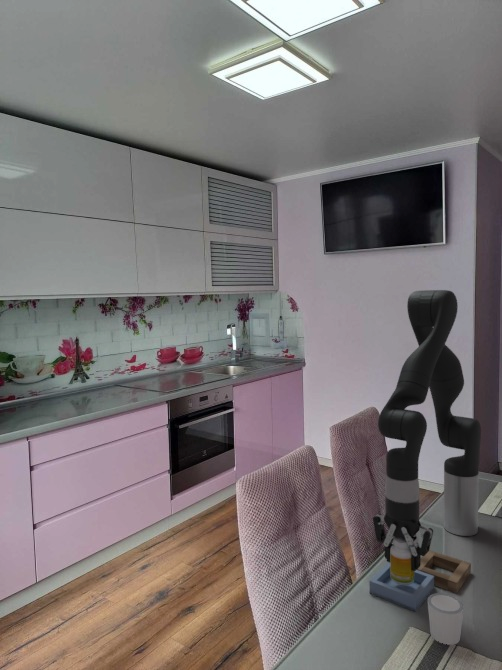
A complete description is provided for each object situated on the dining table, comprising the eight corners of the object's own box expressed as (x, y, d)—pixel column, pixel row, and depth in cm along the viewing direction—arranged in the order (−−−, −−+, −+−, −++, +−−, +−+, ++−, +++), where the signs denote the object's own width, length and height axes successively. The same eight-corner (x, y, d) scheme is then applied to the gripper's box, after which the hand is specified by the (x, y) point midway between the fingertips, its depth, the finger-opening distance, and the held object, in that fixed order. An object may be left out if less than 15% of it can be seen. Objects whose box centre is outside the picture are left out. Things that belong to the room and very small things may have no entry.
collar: (428, 559, 129) (428, 549, 129) (470, 572, 123) (470, 563, 122) (412, 577, 121) (412, 567, 121) (456, 593, 115) (456, 582, 114)
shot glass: (460, 651, 96) (460, 617, 95) (423, 639, 100) (423, 606, 99) (465, 631, 102) (466, 598, 101) (431, 620, 106) (431, 588, 105)
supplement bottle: (415, 586, 113) (415, 545, 112) (391, 584, 114) (391, 544, 113) (412, 573, 118) (413, 534, 117) (389, 571, 119) (389, 532, 118)
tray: (390, 572, 124) (390, 560, 124) (434, 588, 117) (434, 576, 116) (369, 593, 115) (369, 580, 115) (415, 611, 108) (415, 598, 108)
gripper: (439, 497, 112) (438, 568, 114) (380, 482, 122) (380, 548, 123) (427, 508, 107) (426, 583, 108) (366, 492, 116) (366, 561, 117)
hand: (402, 564), depth 116 cm, fingers closed on supplement bottle, 5 cm apart
